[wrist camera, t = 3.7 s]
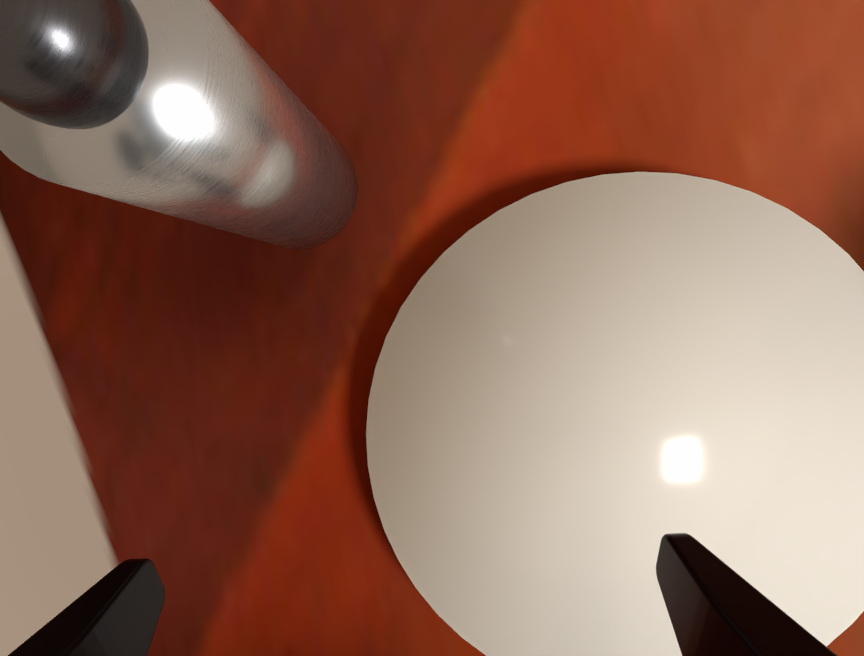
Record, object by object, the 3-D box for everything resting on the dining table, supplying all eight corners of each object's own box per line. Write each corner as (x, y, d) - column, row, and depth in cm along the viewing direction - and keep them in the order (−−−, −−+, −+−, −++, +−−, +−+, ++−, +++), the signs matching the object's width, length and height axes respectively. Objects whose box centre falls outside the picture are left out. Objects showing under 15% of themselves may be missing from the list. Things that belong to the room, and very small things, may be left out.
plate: (750, 768, 19) (768, 798, 18) (301, 547, 21) (290, 562, 20) (1002, 304, 18) (1039, 304, 16) (490, 102, 19) (490, 89, 18)
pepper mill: (329, 267, 20) (58, 205, 7) (223, 221, 21) (-208, 86, 8) (376, 153, 20) (172, -124, 7) (267, 108, 20) (-116, -233, 7)
